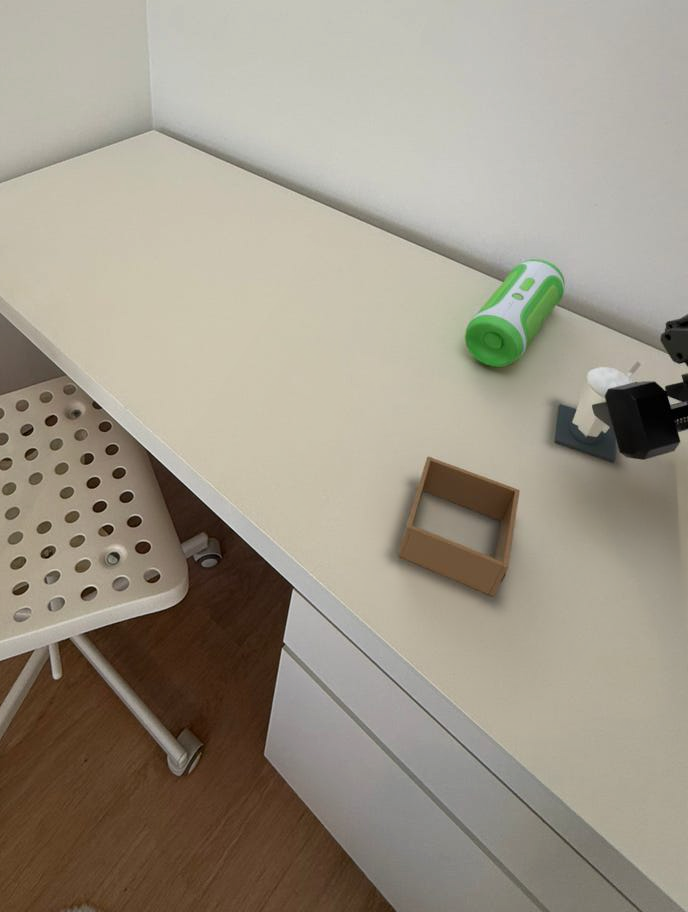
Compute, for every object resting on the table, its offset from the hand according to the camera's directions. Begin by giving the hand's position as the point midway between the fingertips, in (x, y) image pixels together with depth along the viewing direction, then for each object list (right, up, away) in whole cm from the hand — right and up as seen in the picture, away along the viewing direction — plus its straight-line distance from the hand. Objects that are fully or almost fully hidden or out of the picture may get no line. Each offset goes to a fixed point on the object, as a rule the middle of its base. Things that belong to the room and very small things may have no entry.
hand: (631, 400), depth 69 cm
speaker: (-3, +5, +21) cm, 22 cm away
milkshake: (-1, -5, +7) cm, 8 cm away
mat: (-1, -5, +7) cm, 9 cm away
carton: (-20, -13, -3) cm, 24 cm away
